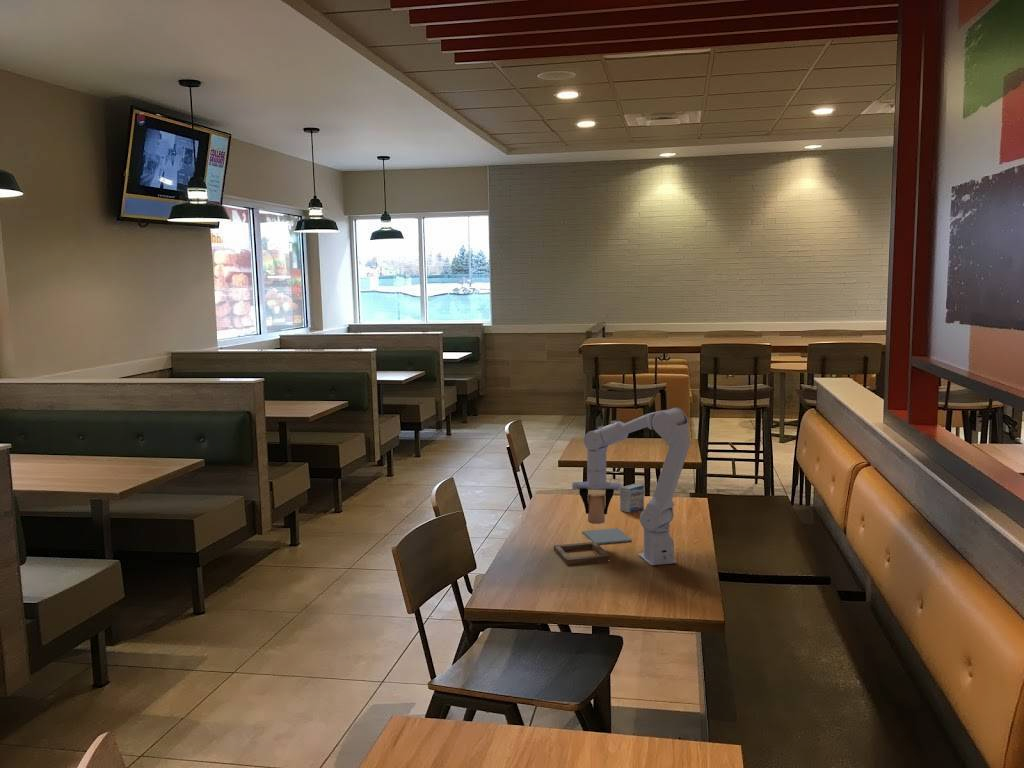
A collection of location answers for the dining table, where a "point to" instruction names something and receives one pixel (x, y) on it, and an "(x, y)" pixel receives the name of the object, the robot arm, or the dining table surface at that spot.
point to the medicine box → (632, 498)
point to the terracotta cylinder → (596, 508)
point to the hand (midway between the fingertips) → (596, 513)
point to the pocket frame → (577, 560)
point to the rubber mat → (606, 536)
